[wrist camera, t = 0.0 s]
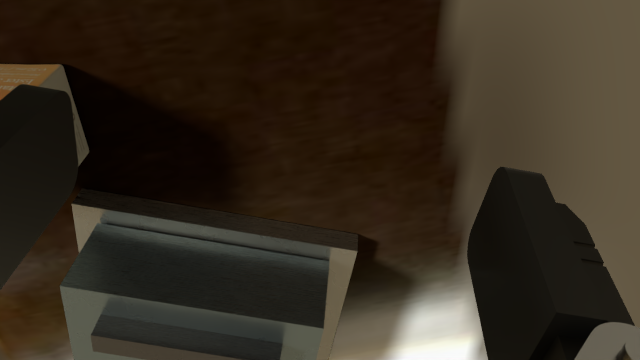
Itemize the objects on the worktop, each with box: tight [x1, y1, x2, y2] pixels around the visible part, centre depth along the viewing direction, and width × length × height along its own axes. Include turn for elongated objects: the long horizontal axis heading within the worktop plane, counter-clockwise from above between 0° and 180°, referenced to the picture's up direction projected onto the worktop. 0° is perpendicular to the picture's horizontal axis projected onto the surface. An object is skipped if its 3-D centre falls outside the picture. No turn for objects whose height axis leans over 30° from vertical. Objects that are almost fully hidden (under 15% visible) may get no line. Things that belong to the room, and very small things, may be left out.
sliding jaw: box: [60, 223, 330, 360], centre depth 34 cm, size 10×14×6 cm
